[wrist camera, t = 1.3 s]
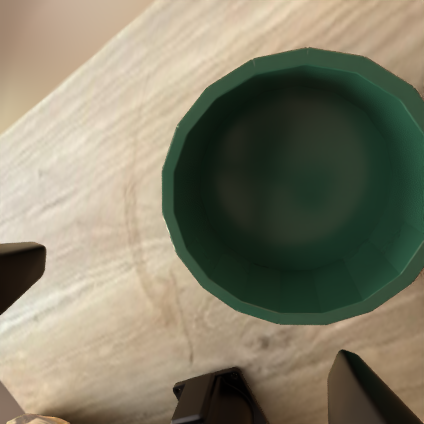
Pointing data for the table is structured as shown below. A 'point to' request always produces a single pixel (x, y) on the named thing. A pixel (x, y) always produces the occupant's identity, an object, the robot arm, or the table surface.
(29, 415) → the decorative bird
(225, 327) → the table surface
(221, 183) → the tin
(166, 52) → the table surface
